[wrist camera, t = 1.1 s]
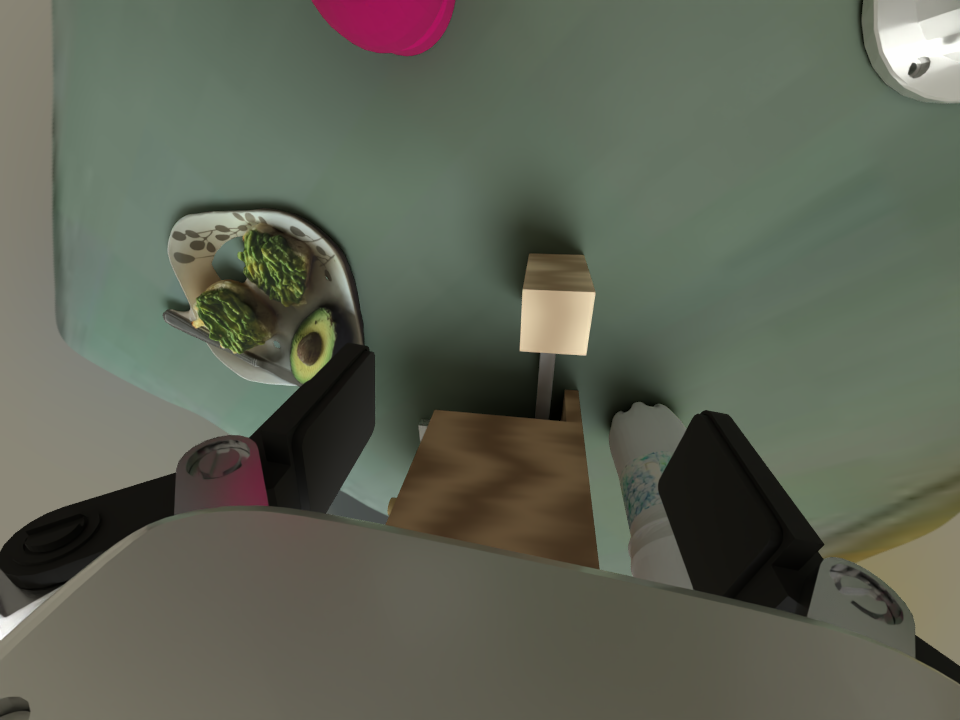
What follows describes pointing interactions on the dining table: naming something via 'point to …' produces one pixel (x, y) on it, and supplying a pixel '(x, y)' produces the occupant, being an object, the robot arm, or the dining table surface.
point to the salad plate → (266, 294)
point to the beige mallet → (555, 315)
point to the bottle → (648, 489)
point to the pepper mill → (389, 23)
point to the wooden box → (503, 484)
